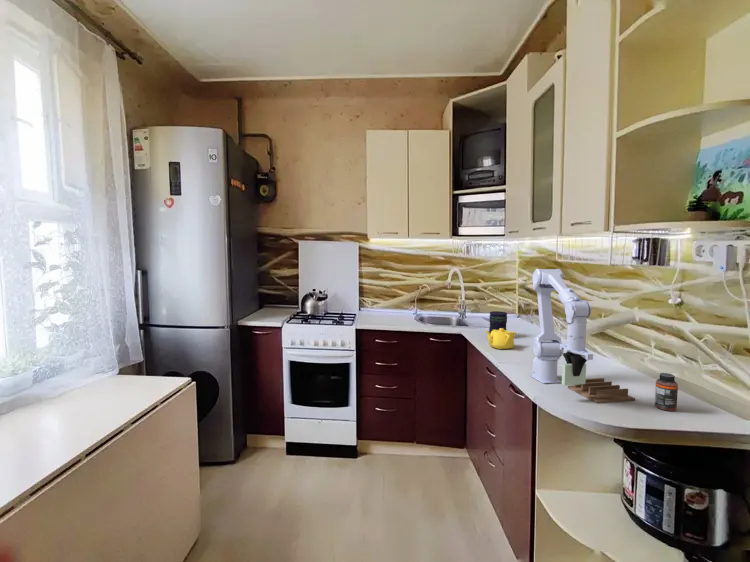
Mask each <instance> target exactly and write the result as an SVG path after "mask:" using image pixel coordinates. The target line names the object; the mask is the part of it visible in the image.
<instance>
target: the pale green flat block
mask: <svg viewBox="0 0 750 562" xmlns="http://www.w3.org/2000/svg"><path fill="white" fill-rule="evenodd" d="M561 367H562V368H561V381H562V382H561V385H563V386H574V385H579V384H585V382H586V379H587V364H586V363H585V364H584V366H583V368H582V371H581V373H580V376H573V367H572V364H567V363H563V364H562V365H561Z"/></svg>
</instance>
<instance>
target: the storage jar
mask: <svg viewBox="0 0 750 562" xmlns="http://www.w3.org/2000/svg"><path fill="white" fill-rule="evenodd" d="M488 321H489V328H488V331H489V332H490V334H491V331H492V330H499V328H503V329H504V330H507V323H508V312H506V311H500V310H499V311H496V310H495V311H489V320H488ZM507 331H508V330H507Z"/></svg>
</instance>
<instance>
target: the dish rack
mask: <svg viewBox="0 0 750 562" xmlns="http://www.w3.org/2000/svg"><path fill="white" fill-rule="evenodd" d="M620 387H621V385H619V384H613V381H605V377H602V378H600V377H599V378H598V377H597V378H586V382H585V384H579V385H567V389H569V390H571V391H572V392H574V391H575V392H574V393H577V394H578V395H581V396H582V397H584V398H586V399H588V400H590V401H592V402H594V403H596V404H600V403H601V404H604V403H616V402H617V403H618V402H633V401H636V398H635V397H633V396H631V395H629V388H620Z"/></svg>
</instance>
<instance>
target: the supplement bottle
mask: <svg viewBox="0 0 750 562" xmlns="http://www.w3.org/2000/svg"><path fill="white" fill-rule="evenodd" d="M675 378H676V377H675V375H674V374H672V373H668V372H660V373H659V378H658V379H656V380H655V391H654V406H655V408H657V409H659V410H661V411H666V412H674V411H676V410H677V409H678V391H679V384H678V382H676V381H675Z"/></svg>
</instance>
